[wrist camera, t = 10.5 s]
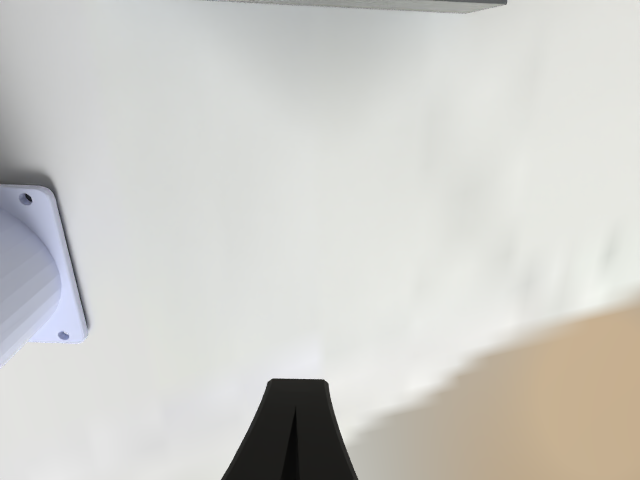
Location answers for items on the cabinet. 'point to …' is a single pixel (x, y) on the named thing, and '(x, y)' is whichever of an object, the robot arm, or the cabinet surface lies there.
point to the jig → (394, 4)
